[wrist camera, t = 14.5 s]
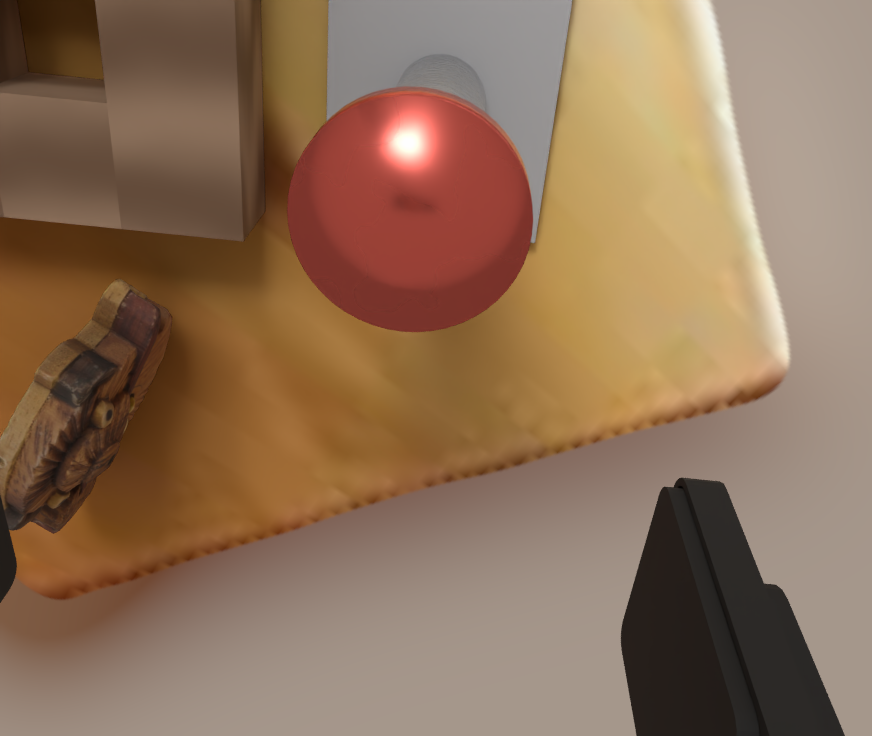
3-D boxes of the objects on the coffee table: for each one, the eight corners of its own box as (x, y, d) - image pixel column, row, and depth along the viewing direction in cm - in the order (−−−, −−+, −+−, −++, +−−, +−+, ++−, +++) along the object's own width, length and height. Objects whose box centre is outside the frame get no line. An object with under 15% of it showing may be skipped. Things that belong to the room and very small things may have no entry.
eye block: (-157, -229, 31) (-237, -245, 28) (256, -189, 31) (227, -200, 28) (-64, 177, 40) (-117, 204, 36) (265, 211, 39) (243, 241, 36)
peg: (365, 10, 34) (285, 83, 21) (528, 26, 34) (550, 109, 21) (359, 171, 37) (288, 319, 24) (507, 185, 37) (515, 343, 24)
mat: (332, -64, 33) (329, -63, 33) (576, -40, 33) (578, -39, 33) (327, 217, 39) (324, 221, 39) (534, 238, 39) (534, 242, 39)
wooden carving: (124, 492, 49) (44, 620, 40) (49, 462, 48) (-49, 586, 39) (210, 265, 41) (135, 364, 32) (122, 225, 40) (21, 315, 32)
